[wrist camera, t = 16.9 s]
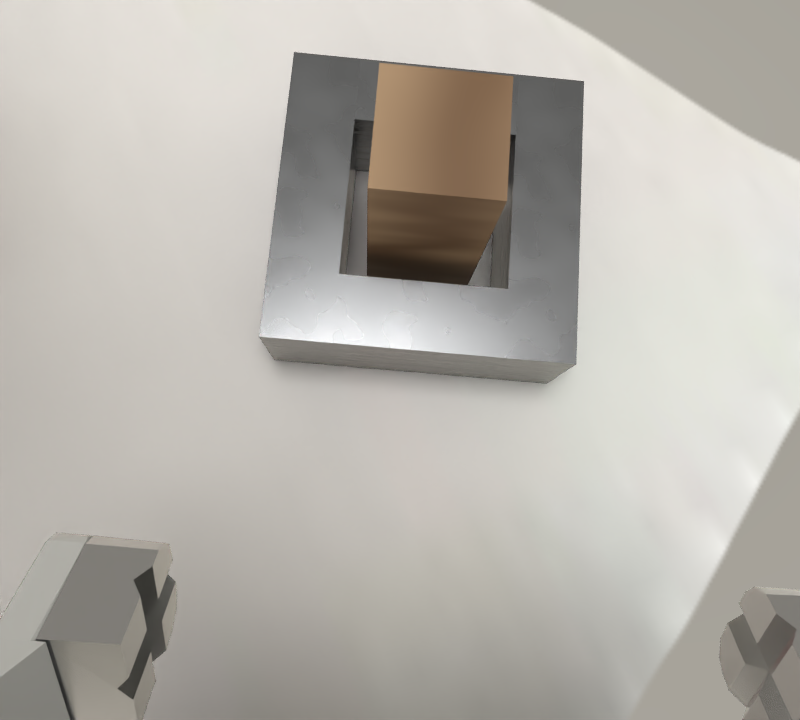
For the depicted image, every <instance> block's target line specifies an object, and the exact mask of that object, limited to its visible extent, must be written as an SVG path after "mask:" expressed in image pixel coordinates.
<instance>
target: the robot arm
mask: <svg viewBox="0 0 800 720" xmlns="http://www.w3.org/2000/svg"><path fill="white" fill-rule="evenodd" d="M172 561H173V559H172V554H171V549H170V544H167V543H161V542H151V541H141V540H132V539H122V538H112V537H103V536H91V535H79V534H68V533H57V532H56V533H55V534H54V535H53V536H52V537H51V538H50V539H49V540H47V541H46V542H45V544H44V546H43V547H42V549H41V551H40V552H39V554H38V556H37V557H36V559H35V561H34V562H33V564H32V566H31V568H30V569H29V571H28V573H27V574H26V576H25V578H24V579H23V581H22V583H21V585H20V586H19V588H18V590H17V591H16V593H15V595H14V596H13V598H12V600H11V601H10V603H9V605H8V607H7V608H6V610H5V612H4V613H3V615H2V617H1V618H0V720H142V719H143V717H144V714H145V711H146V708H147V705H148V702H149V699H150V696H151V693H152V690H153V687H154V685H155V682H156V679H155V673H154V667H153V661H154V660H155V659H156V658H158V657H159V656H160V655H161V654H162V653H163V652H165V651H166V649H167V646H168V643H169V640H170V637H171V633H172V630H173V625H174V620H175V614H176V609H177V589H176V582H175V581H174V580H173V579H172V578H171V577H170V576H169V575H168V572H169V569H170V566H171V563H172ZM739 605H740V607H741V609H742V611H743V614H742V615H741V616H739V617H738V618H736V619H734V620H732V621H730V622H729V623H727V625H726V628H725V630H724V632H723V634H722V636H721V638H720V653H719V658H720V663H721V669H722V674H723V676H724V679H725V682H726V684H727V687H728V690H729V691H730V692H731V693H732V694H733V695H734V696H735V697H736V698H737V699H738V700H739V701H740V702H741V703H742V704H743V705H745V706H746V708H745V712H744V715H743V718H742V720H800V590H797V589H781V588H766V587H753V588H751V589H749V590H748V591H746V592H745V594H744V595H743V597H742V599H741V600H740V602H739Z"/></svg>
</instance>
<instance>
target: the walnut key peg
mask: <svg viewBox="0 0 800 720" xmlns="http://www.w3.org/2000/svg"><path fill="white" fill-rule="evenodd" d="M512 93H513V76H506V75H496V74H486V73H476V72H466V71H456V70H446V69H436V68H427V67H417V66H407V65H397V64H387V63H379V73H378V83H377V94H376V104H375V115H374V125H373V136H372V146H371V157H370V167H369V178H368V200H367V276H369V277H380V278H391V279H402V280H413V281H424V282H435V283H446V284H457V285H468V283H469V281H470V279H471V277H472V275H473V272H474V270H475V268H476V266H477V264H478V262H479V260H480V258H481V255H482V253H483V251H484V249H485V247H486V245H487V243H488V241H489V238H490V236H491V234H492V232H493V230H494V228H495V226H496V224H497V221H498V219H499V217H500V215H501V213H502V211H503V209H504V207H505V204H506V202H507V192H508V172H509V153H510V133H511V113H512Z"/></svg>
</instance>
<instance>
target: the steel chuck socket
mask: <svg viewBox="0 0 800 720" xmlns="http://www.w3.org/2000/svg"><path fill="white" fill-rule="evenodd" d="M379 63H387V64H397V65H407V66H417V67H427V68H436V69H446V70H456V71H466V72H476V73H486V74H496V75H506V76H513V93H512V113H511V133H510V153H509V172H508V192H507V202H506V204H505V207H504V209H503V211H502V213H501V215H500V217H499V219H498V221H497V224H496V226H495V228H494V230H493V247H492V265H491V284H490V287H479V286H468V285H457V284H446V283H435V282H424V281H413V280H402V279H391V278H380V277H369V276H358V275H347V274H346V267H347V257H348V247H349V237H350V227H351V217H352V207H353V196H354V186H355V176H356V170H362V171H369V167H370V157H371V146H372V136H373V125H374V115H375V104H376V94H377V83H378V73H379ZM583 95H584V81H576V80H566V79H556V78H546V77H536V76H526V75H516V74H506V73H496V72H486V71H476V70H466V69H456V68H446V67H436V66H426V65H416V64H406V63H396V62H387V61H377V60H367V59H357V58H347V57H337V56H327V55H317V54H307V53H297V52H294V58H293V66H292V74H291V82H290V90H289V98H288V106H287V114H286V123H285V131H284V139H283V147H282V155H281V163H280V171H279V179H278V187H277V195H276V203H275V212H274V220H273V228H272V236H271V244H270V252H269V260H268V268H267V276H266V284H265V293H264V301H263V309H262V317H261V325H260V333H259V337H260V339H261V340H262V342H263V343H264V345H265V346H266V348H267V350H268V351H269V353H270V354H271V356H272V357H273V359H274V360H282V361H293V362H305V363H316V364H328V365H339V366H351V367H363V368H374V369H386V370H397V371H409V372H420V373H432V374H444V375H455V376H467V377H478V378H490V379H502V380H513V381H525V382H536V383H548V382H550V381H551V380H553V379H554V378H556V377H557V376H559V375H560V374H562V373H563V372H565V371H567V370H568V369H570V368H571V367H573V366H574V365H576V351H577V314H578V278H579V241H580V205H581V168H582V131H583Z"/></svg>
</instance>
